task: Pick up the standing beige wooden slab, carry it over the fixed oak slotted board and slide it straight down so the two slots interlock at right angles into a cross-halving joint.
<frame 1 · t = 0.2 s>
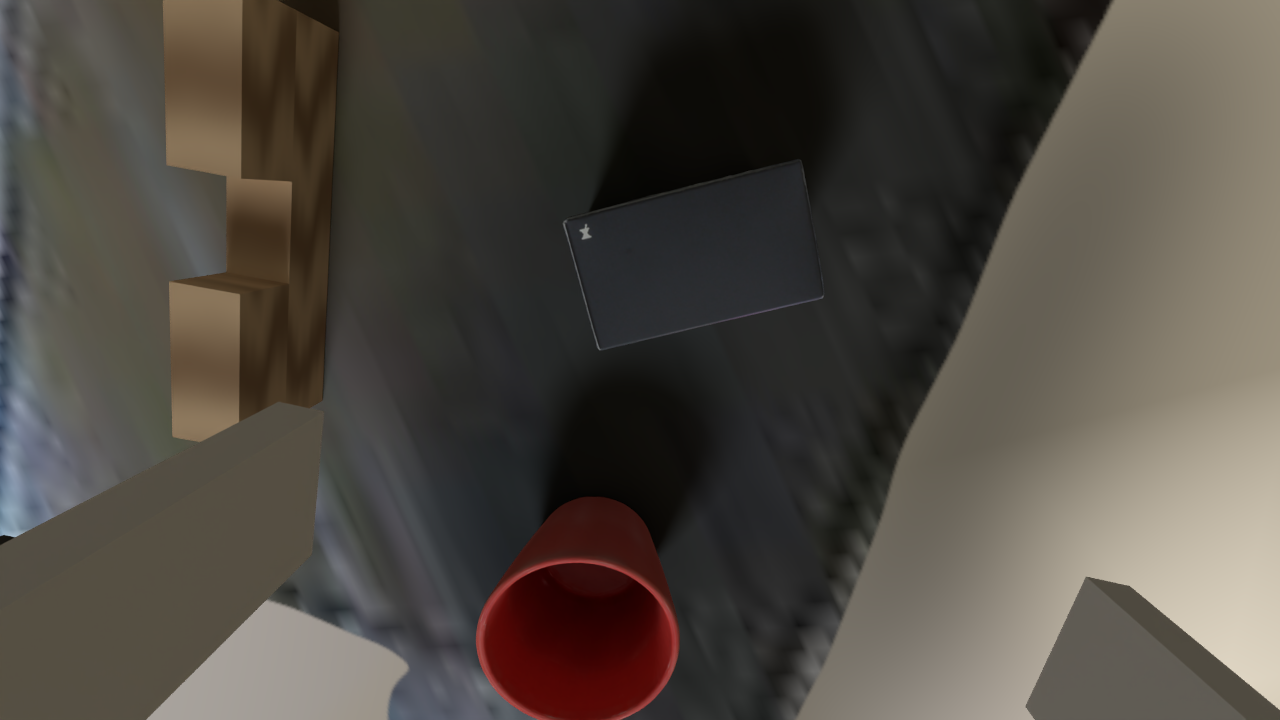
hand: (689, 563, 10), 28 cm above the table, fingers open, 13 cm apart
oak board: (301, 225, 37), on the table
small box: (685, 243, 36), on the table
flower pot: (597, 545, 42), on the table
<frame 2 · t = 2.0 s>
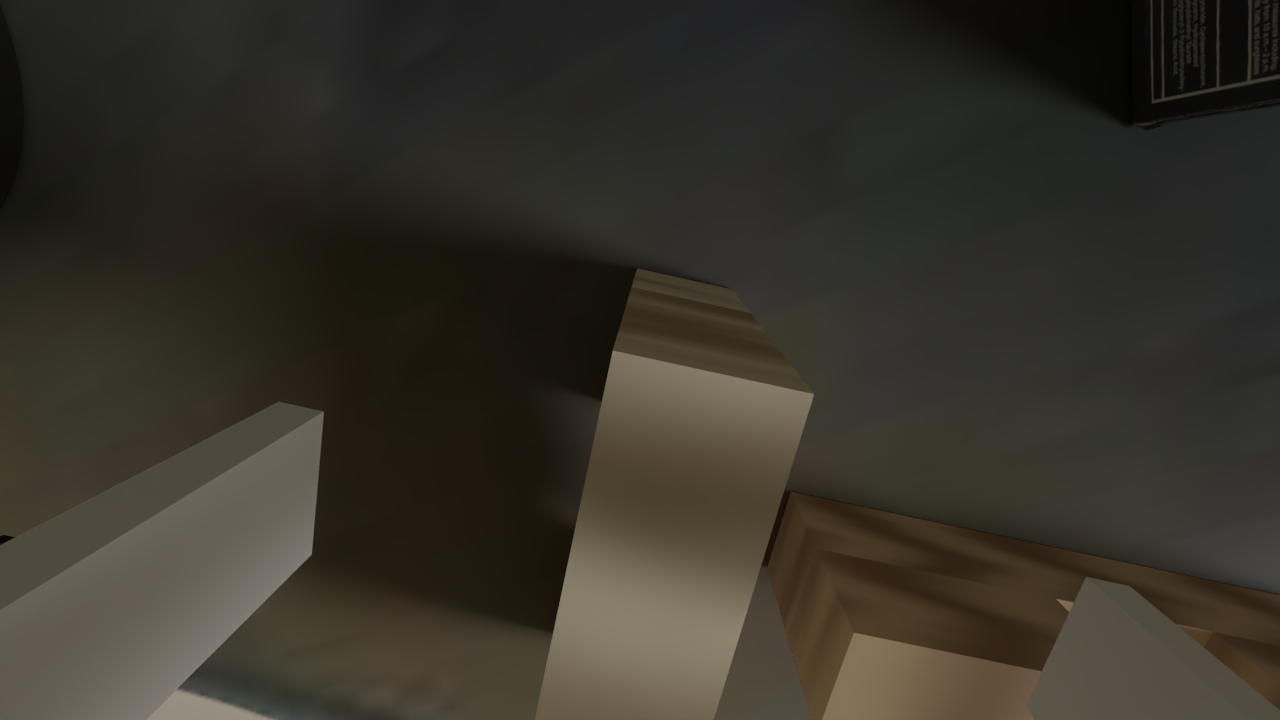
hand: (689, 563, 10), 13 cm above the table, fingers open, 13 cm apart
oak board: (1041, 585, 25), on the table
beige wooden slab: (637, 476, 24), on the table
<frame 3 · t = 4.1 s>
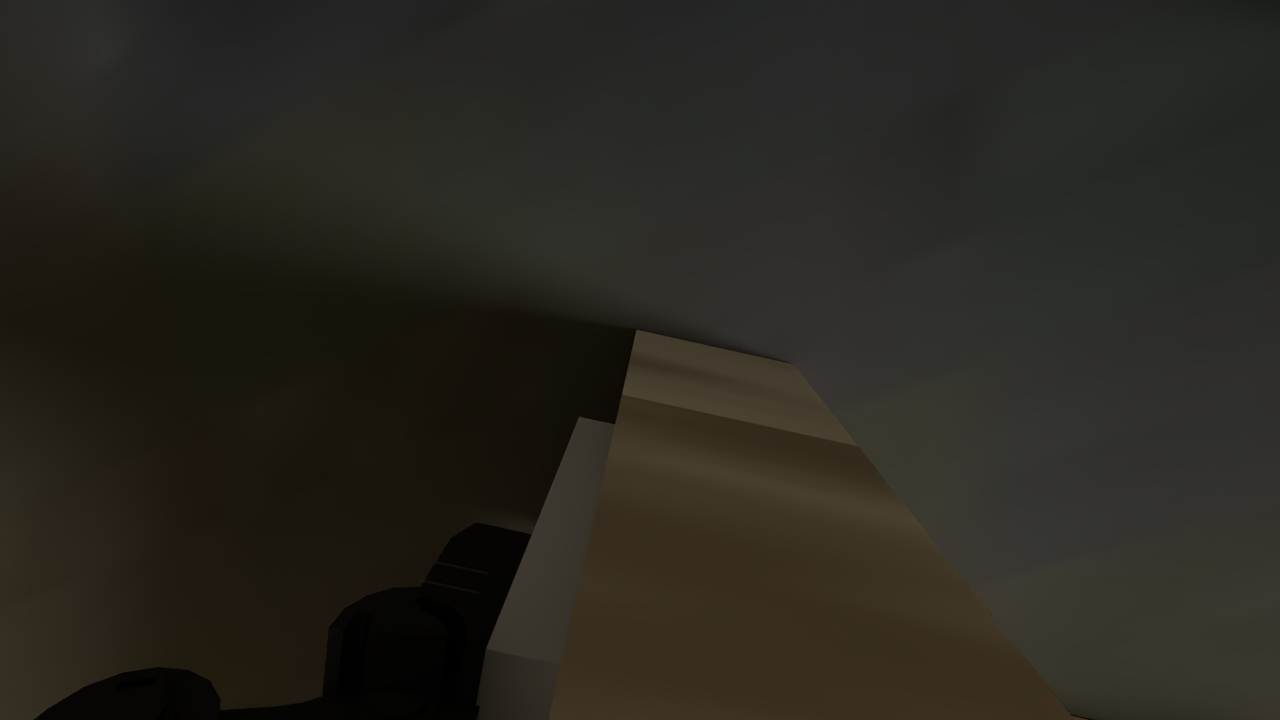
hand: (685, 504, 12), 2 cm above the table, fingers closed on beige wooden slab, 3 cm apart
beige wooden slab: (637, 649, 15), on the table, touching gripper
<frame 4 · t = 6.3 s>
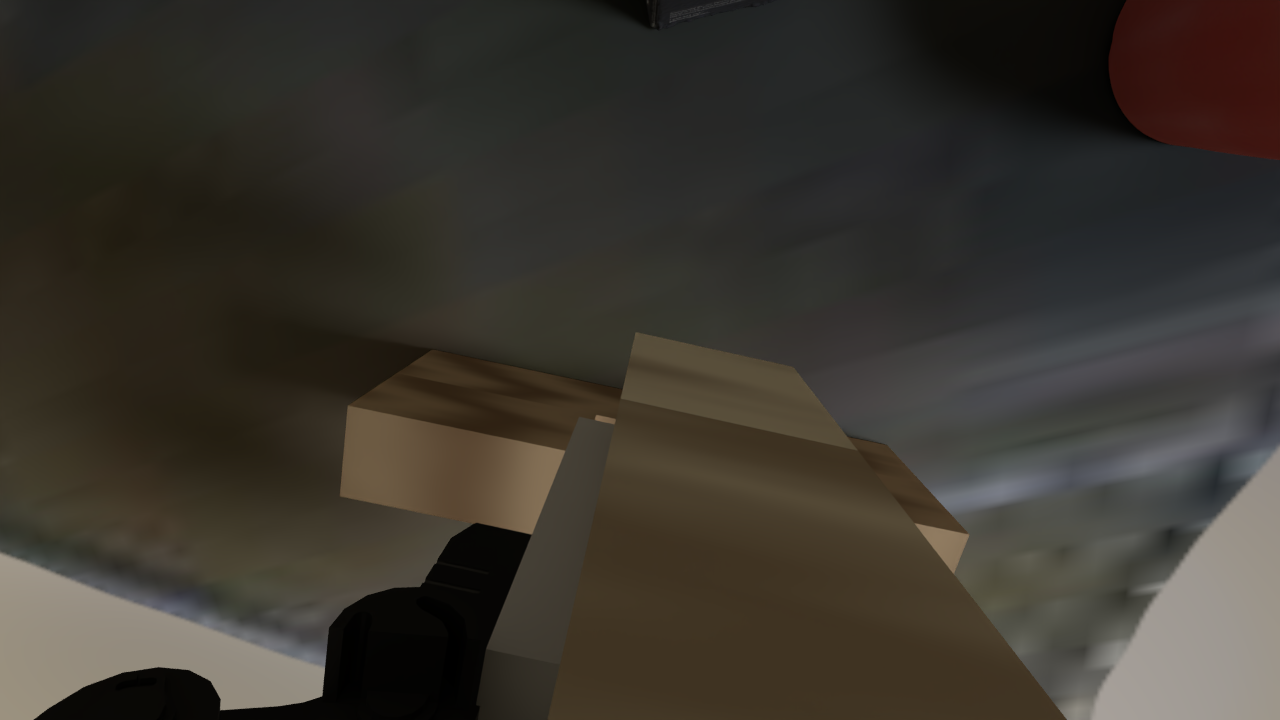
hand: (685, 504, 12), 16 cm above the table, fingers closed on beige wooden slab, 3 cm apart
oak board: (653, 431, 29), on the table
beige wooden slab: (636, 652, 15), point 15 cm above the table, touching gripper
flower pot: (1201, 43, 24), on the table
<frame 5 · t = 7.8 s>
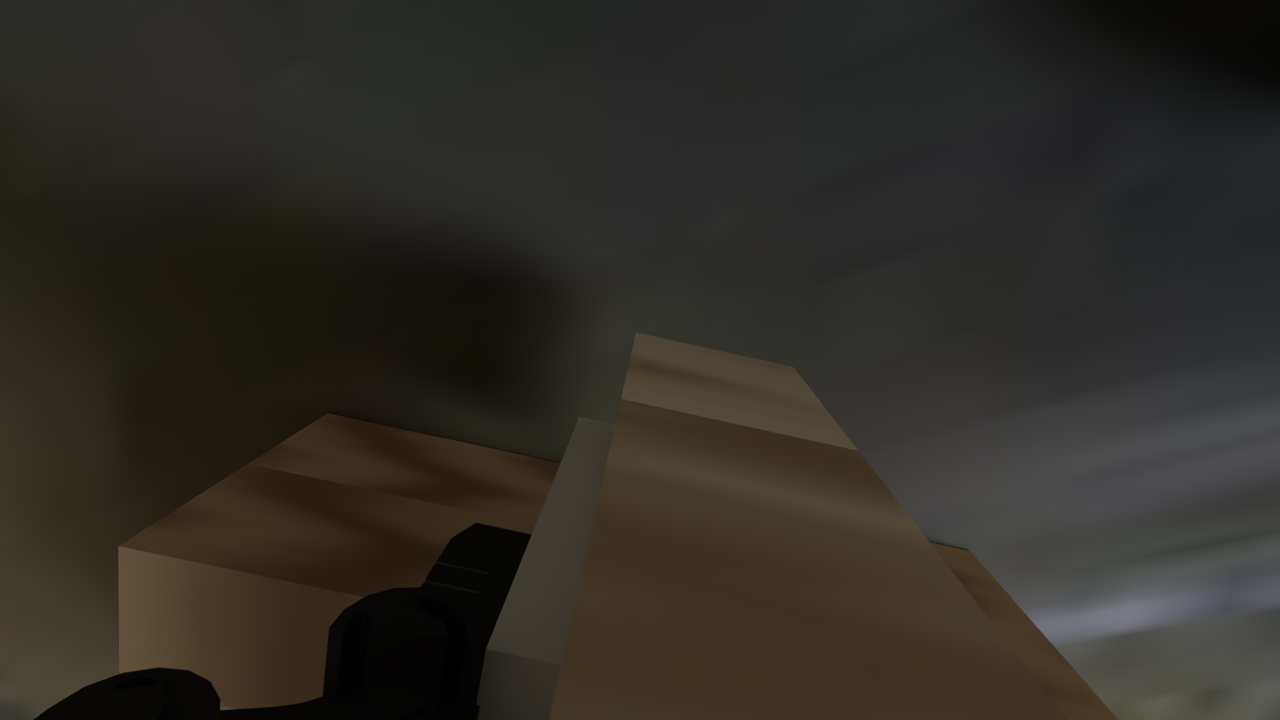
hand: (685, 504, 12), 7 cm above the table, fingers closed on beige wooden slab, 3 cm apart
oak board: (641, 528, 21), on the table
beige wooden slab: (637, 652, 15), point 6 cm above the table, touching gripper
when the fingers open (3 cm above the table, at t = 8.9 s): beige wooden slab drops 1 cm, on the table.
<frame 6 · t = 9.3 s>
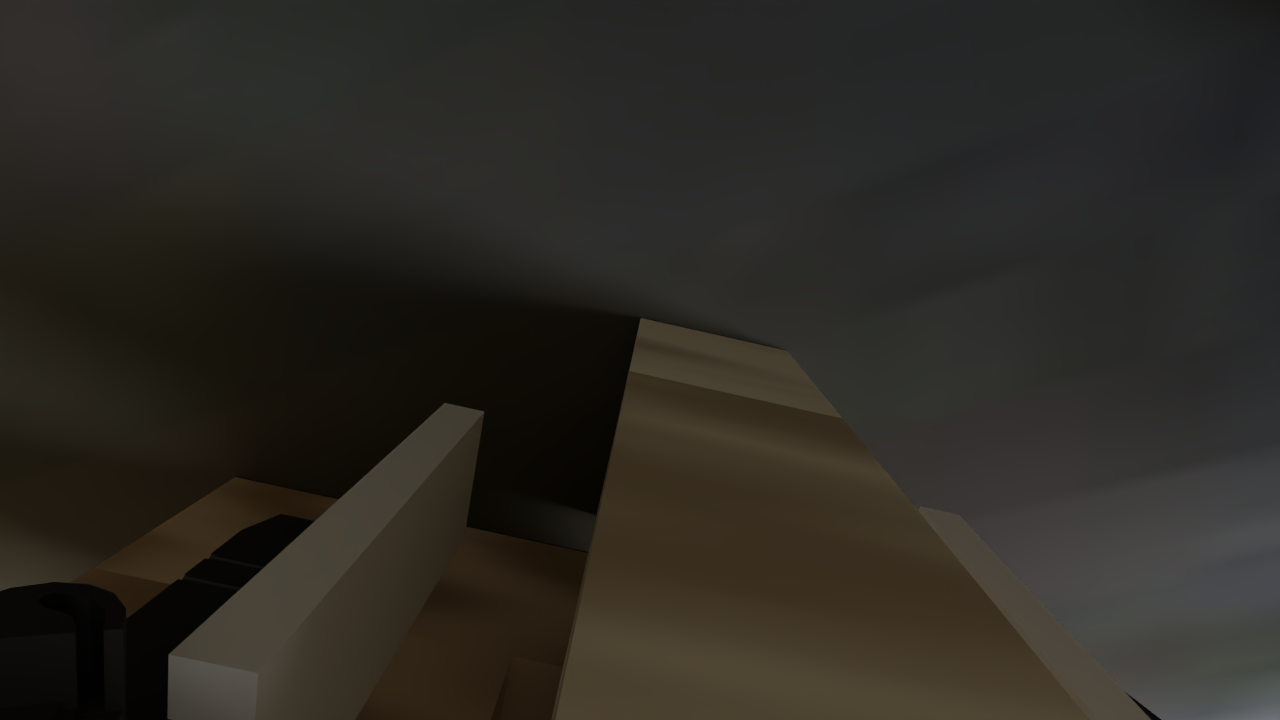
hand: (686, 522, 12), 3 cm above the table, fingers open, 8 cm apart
oak board: (639, 623, 16), on the table
beige wooden slab: (640, 620, 16), on the table
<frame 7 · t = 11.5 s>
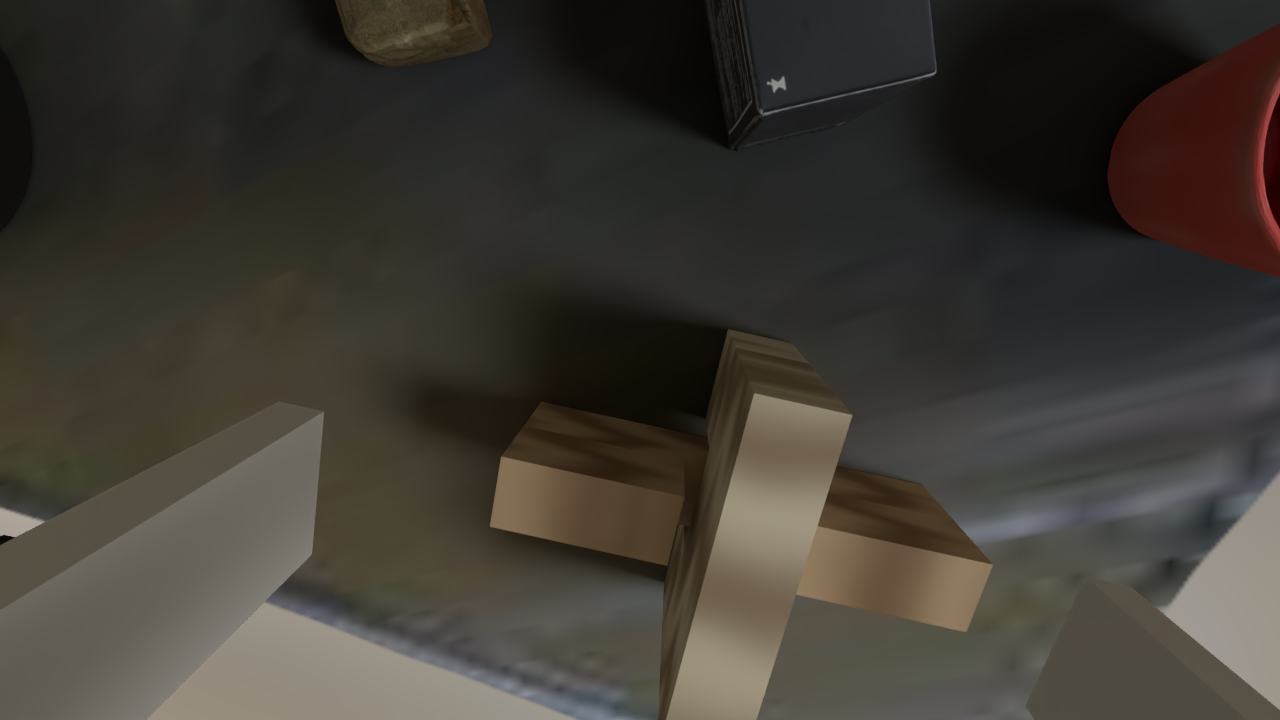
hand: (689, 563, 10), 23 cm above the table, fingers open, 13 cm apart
oak board: (723, 470, 35), on the table
small box: (774, 27, 29), on the table
beige wooden slab: (724, 469, 35), on the table
flower pot: (1185, 159, 30), on the table
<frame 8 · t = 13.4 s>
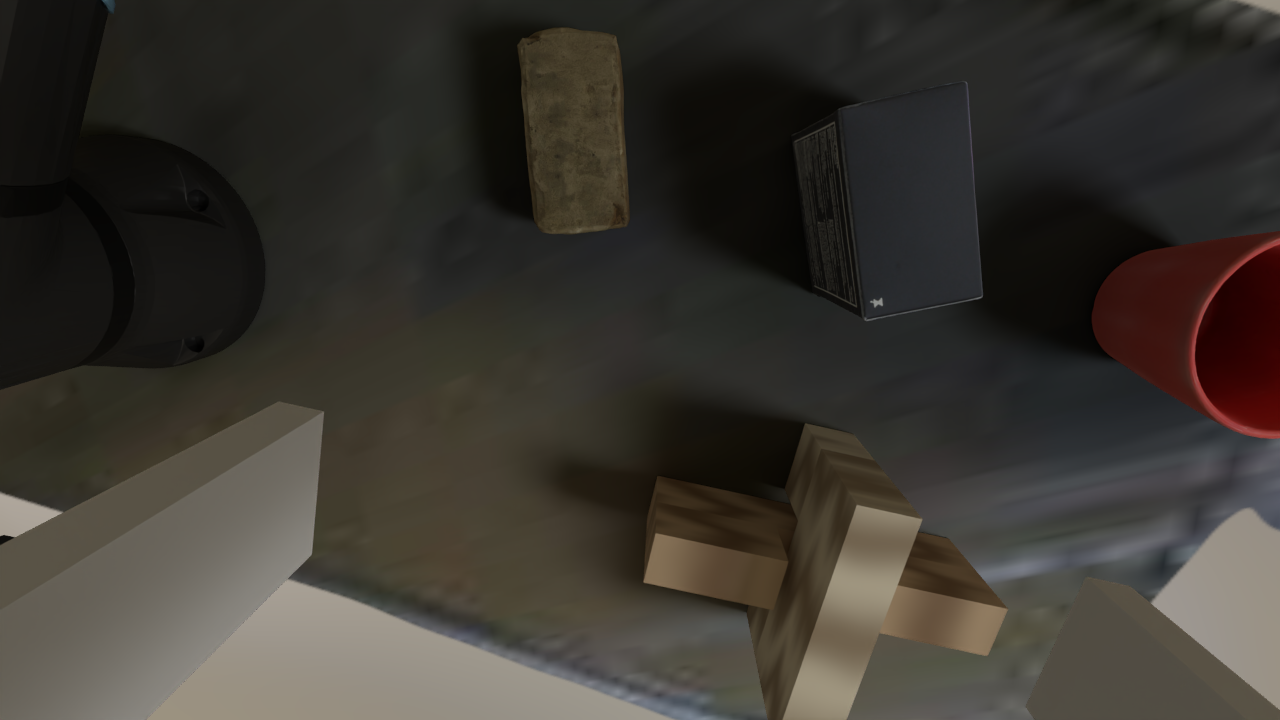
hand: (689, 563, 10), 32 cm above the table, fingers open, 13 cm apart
oak board: (797, 528, 45), on the table
stone block: (583, 140, 39), on the table
small box: (849, 206, 39), on the table
beige wooden slab: (797, 527, 45), on the table
flower pot: (1148, 306, 40), on the table
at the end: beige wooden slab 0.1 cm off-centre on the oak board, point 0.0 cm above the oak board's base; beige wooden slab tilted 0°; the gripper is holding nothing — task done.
